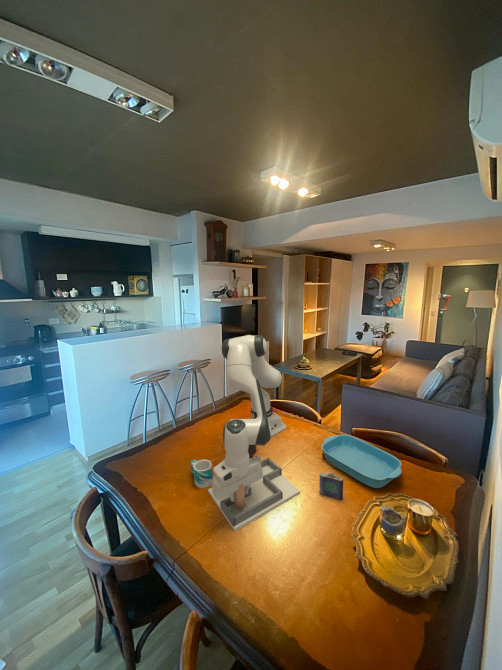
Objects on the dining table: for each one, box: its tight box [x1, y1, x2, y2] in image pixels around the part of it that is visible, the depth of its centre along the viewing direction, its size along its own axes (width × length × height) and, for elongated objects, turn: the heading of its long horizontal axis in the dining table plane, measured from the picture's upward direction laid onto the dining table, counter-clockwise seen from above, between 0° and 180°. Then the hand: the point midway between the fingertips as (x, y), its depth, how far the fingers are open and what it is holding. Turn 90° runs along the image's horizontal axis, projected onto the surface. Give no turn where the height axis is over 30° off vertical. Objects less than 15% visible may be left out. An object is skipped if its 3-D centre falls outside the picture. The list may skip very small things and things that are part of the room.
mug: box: [189, 458, 214, 489], centre depth 122 cm, size 8×12×8 cm
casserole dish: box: [320, 434, 402, 489], centre depth 127 cm, size 37×22×7 cm, turn 35°
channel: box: [207, 457, 301, 532], centre depth 113 cm, size 31×23×4 cm
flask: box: [318, 470, 344, 501], centre depth 110 cm, size 9×3×11 cm, turn 65°
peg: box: [234, 484, 245, 510], centre depth 102 cm, size 4×4×10 cm
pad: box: [230, 504, 248, 516], centre depth 104 cm, size 7×7×1 cm
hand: (239, 497), depth 103 cm, fingers closed on peg, 4 cm apart
